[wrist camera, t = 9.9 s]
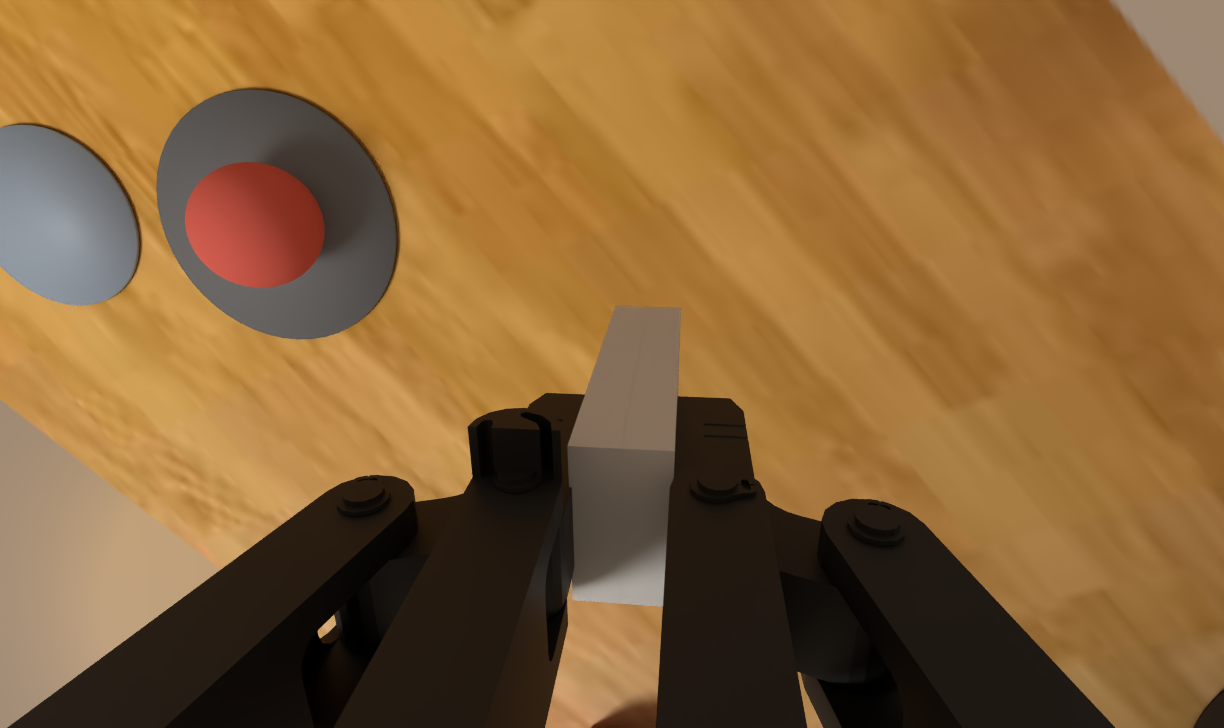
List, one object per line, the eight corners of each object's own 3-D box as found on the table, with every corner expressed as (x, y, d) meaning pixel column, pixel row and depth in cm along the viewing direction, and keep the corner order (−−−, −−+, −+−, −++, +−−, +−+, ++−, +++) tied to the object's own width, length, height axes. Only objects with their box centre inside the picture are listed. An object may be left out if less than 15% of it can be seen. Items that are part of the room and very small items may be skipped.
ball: (301, 167, 27) (149, 166, 26) (319, 299, 29) (178, 304, 28) (326, 158, 32) (199, 157, 31) (340, 271, 34) (221, 274, 33)
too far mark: (109, 124, 32) (106, 124, 32) (159, 306, 35) (156, 307, 35) (-60, 124, 33) (-64, 124, 33) (4, 302, 36) (1, 303, 36)
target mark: (378, 88, 30) (377, 88, 30) (411, 341, 34) (409, 343, 34) (130, 90, 31) (126, 90, 31) (193, 334, 36) (190, 335, 35)
